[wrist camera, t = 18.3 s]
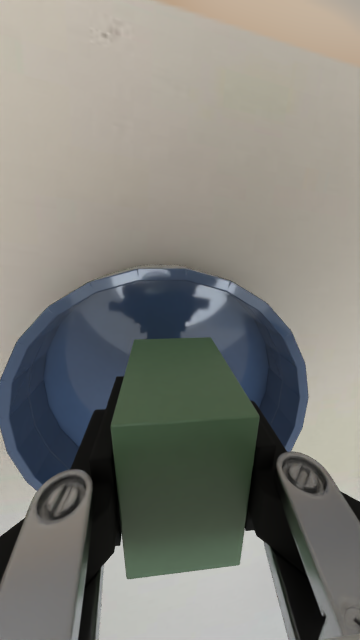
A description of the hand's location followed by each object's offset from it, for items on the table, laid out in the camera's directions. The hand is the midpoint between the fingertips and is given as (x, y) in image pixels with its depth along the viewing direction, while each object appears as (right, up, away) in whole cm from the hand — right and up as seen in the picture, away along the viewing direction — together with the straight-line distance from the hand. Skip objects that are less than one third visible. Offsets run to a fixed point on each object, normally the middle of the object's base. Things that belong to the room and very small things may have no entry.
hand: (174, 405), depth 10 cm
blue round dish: (-1, -1, +8) cm, 8 cm away
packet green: (0, 0, +1) cm, 1 cm away
